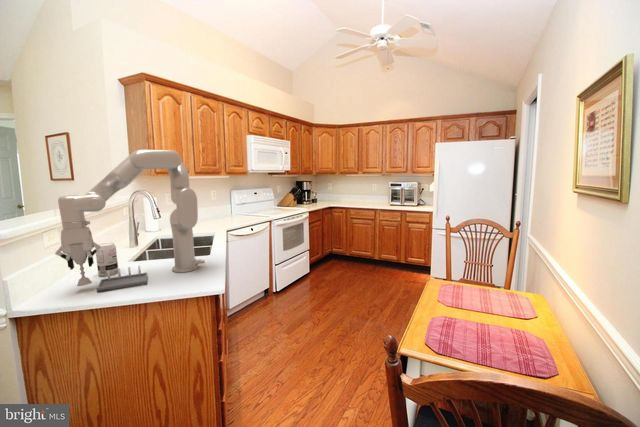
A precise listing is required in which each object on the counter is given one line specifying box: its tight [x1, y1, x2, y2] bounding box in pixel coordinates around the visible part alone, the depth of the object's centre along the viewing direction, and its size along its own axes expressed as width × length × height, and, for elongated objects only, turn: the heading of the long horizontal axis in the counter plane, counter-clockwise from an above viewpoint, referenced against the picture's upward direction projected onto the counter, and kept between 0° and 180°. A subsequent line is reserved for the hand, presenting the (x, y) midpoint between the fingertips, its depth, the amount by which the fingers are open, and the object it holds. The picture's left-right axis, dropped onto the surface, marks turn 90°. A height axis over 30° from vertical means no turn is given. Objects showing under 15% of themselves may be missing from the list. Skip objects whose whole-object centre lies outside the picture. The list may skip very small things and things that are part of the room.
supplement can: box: [95, 242, 119, 277], centre depth 146 cm, size 8×8×15 cm
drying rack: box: [96, 265, 149, 294], centre depth 133 cm, size 18×12×6 cm, turn 119°
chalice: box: [68, 243, 93, 287], centre depth 125 cm, size 7×7×18 cm
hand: (81, 266), depth 126 cm, fingers closed on chalice, 5 cm apart
